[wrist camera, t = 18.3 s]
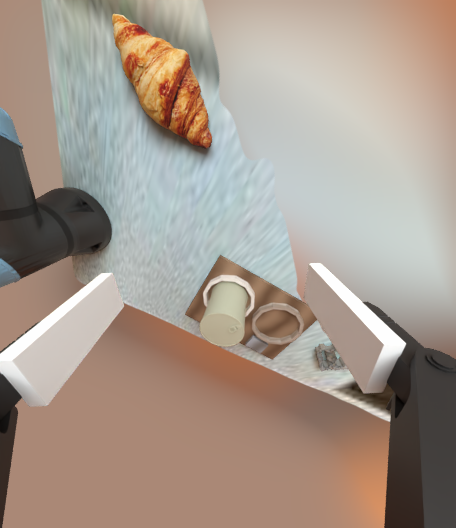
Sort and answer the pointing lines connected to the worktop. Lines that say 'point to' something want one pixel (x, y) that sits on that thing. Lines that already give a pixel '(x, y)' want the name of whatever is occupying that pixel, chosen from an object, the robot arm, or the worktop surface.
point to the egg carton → (329, 358)
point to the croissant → (163, 81)
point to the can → (225, 315)
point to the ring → (232, 279)
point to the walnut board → (261, 298)
